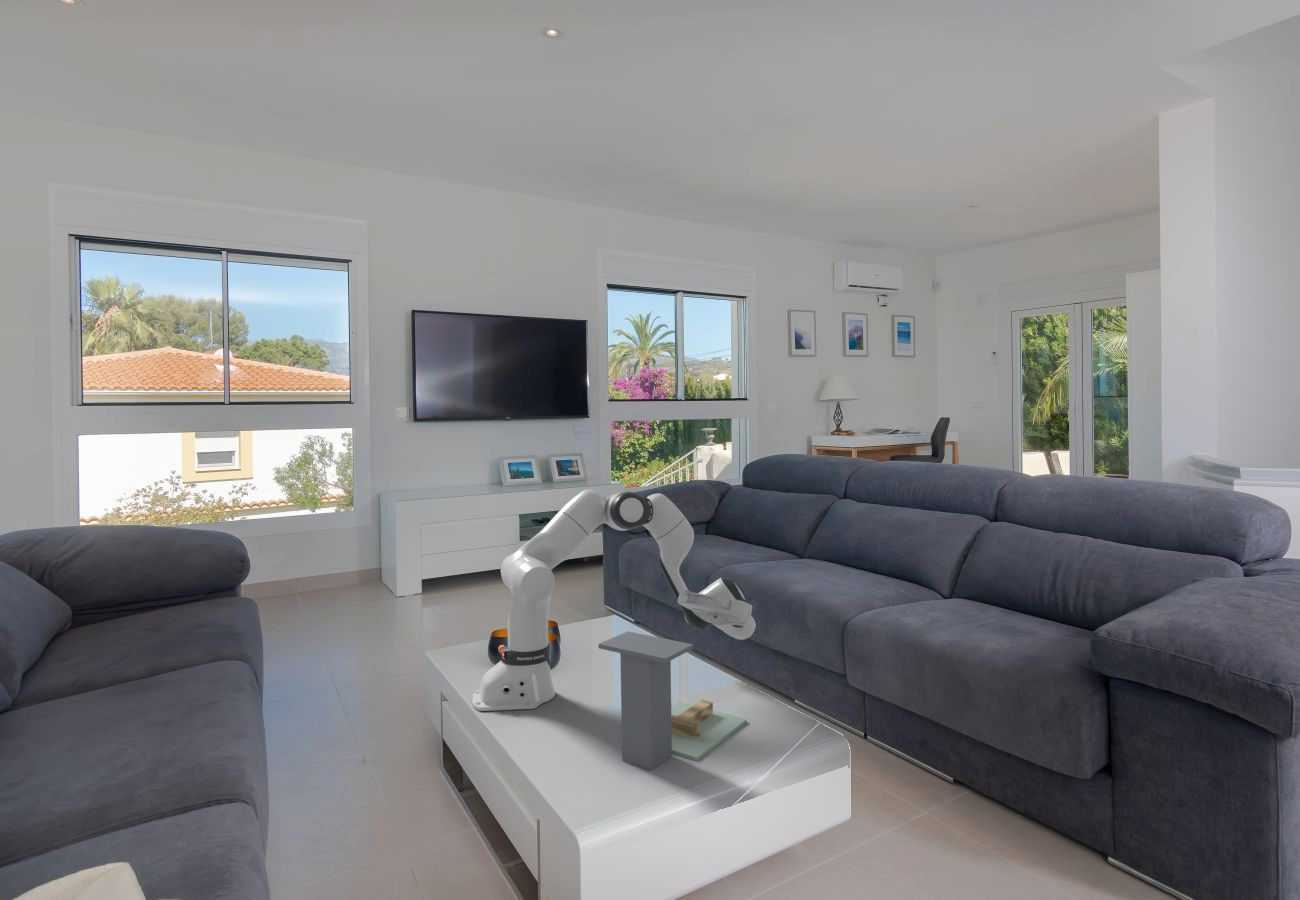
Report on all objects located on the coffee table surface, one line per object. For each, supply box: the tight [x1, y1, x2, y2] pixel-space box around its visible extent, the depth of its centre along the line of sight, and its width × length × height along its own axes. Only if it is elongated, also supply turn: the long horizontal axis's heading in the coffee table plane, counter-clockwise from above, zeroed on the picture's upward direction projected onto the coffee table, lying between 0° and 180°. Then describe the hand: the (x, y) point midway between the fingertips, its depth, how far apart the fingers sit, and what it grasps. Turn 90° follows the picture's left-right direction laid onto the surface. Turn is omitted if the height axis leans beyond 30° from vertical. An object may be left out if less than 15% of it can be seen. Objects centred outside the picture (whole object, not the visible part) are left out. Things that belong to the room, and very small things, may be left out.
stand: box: [598, 631, 694, 771], centre depth 158 cm, size 11×18×26 cm, turn 55°
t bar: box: [671, 699, 714, 740], centre depth 174 cm, size 15×10×3 cm, turn 144°
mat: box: [671, 701, 748, 762], centre depth 172 cm, size 24×20×1 cm
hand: (700, 595), depth 187 cm, fingers open, 8 cm apart
